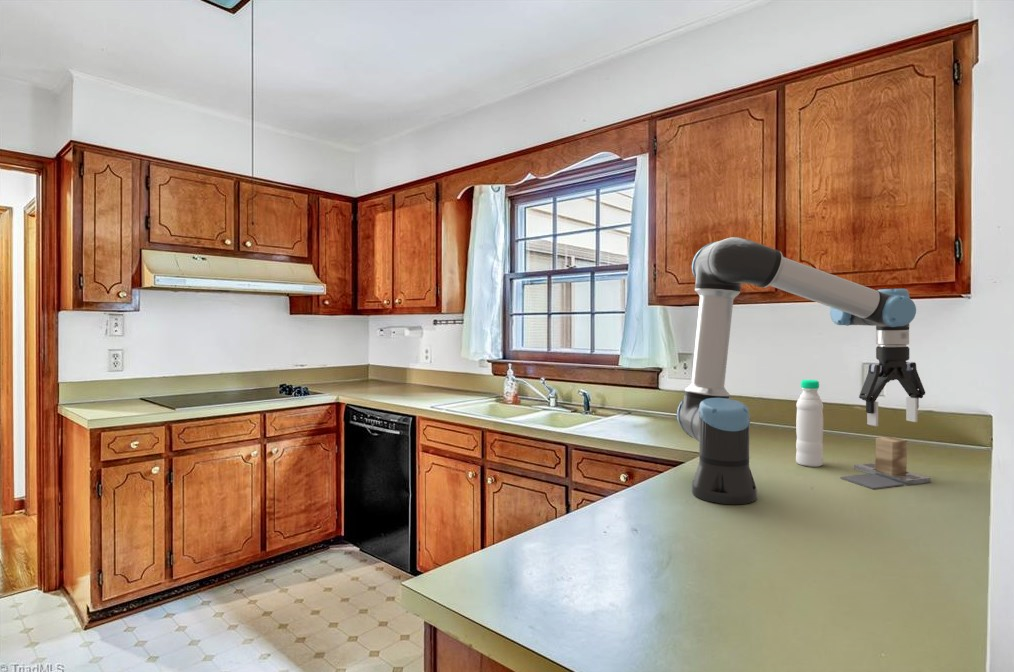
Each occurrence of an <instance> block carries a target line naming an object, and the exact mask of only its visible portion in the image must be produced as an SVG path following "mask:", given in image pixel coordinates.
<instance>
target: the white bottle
mask: <svg viewBox="0 0 1014 672" xmlns="http://www.w3.org/2000/svg"><path fill="white" fill-rule="evenodd" d="M800 389H801V390H802V393H801V394H800V395H799V398H797V401H796V404H795V405H796V418H795V419H796V422H795V425H796V427H795V428H796V429H795V431H796V441H795V447H796V452H795V453H796V454H795V462H796V463H797V464H798V465H800V466H804V467H810V468H814V467H815V468H818V467H821V466H822V465H823V464H824V456H823V450H824V443H823V438H824V437H823V436H824V414H823V410H824V404H823V401H822V399H821V397H820V395H819V393H818V391H819V389H820V381H818V380H816V379H802V380H801V381H800Z"/></svg>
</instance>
